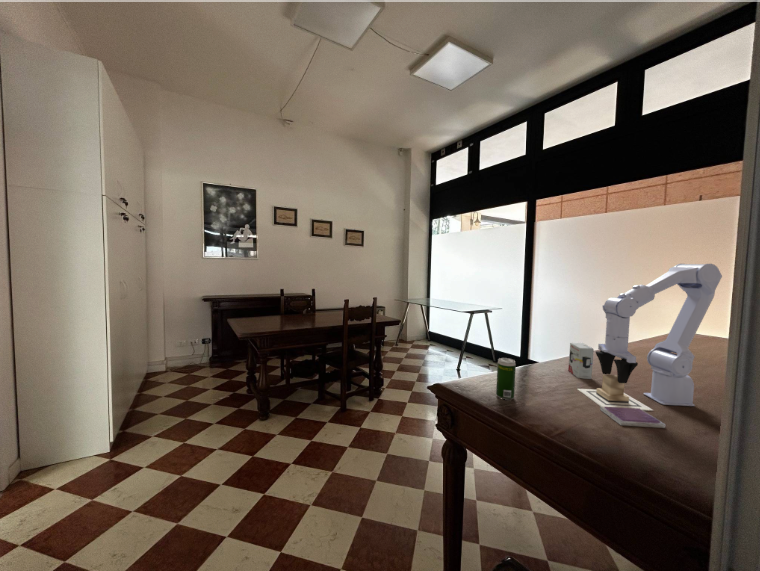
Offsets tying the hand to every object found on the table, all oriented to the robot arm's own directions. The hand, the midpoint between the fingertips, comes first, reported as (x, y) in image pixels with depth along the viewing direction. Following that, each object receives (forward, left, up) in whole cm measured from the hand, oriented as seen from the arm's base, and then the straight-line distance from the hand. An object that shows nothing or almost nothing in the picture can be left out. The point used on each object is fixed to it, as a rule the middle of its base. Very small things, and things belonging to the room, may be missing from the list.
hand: (614, 378), depth 98 cm
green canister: (+34, +3, -7) cm, 35 cm away
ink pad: (+3, +13, -7) cm, 15 cm away
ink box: (-2, -22, -7) cm, 24 cm away
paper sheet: (0, 0, -7) cm, 7 cm away
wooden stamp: (0, 0, -7) cm, 7 cm away
